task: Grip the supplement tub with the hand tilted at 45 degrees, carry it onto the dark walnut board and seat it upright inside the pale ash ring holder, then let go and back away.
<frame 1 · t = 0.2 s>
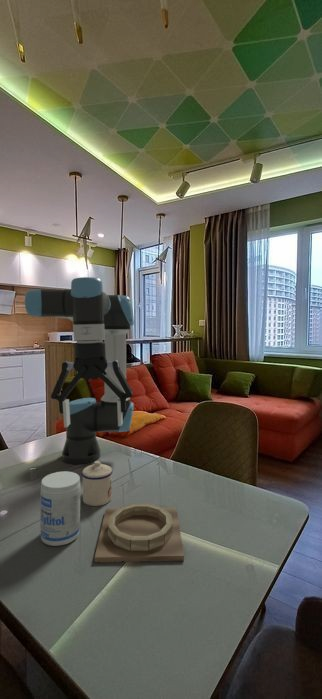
hand: (93, 425, 85), 28 cm above the table, tool pointing down, fingers open, 13 cm apart
supplement tub: (61, 536, 84), on the table
teacup with lid: (96, 497, 103), on the table
ring holder: (140, 534, 85), on the table
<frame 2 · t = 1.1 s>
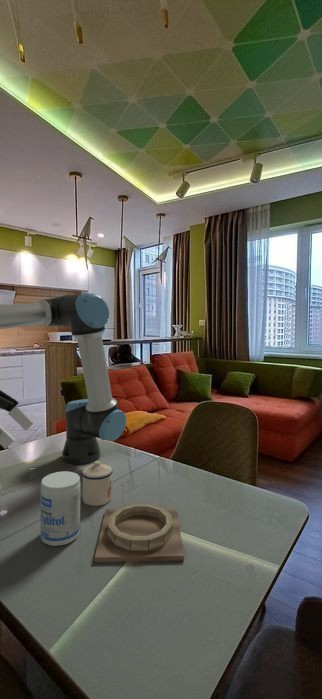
hand: (21, 435, 82), 26 cm above the table, tool tilted 45°, fingers open, 13 cm apart
nothing on the table moved.
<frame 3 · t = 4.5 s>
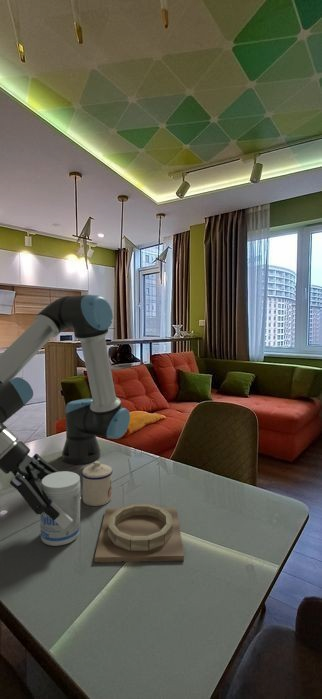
hand: (73, 512, 84), 6 cm above the table, tool tilted 45°, fingers closed on supplement tub, 9 cm apart
supplement tub: (61, 536, 84), on the table, touching gripper
everything else where it was.
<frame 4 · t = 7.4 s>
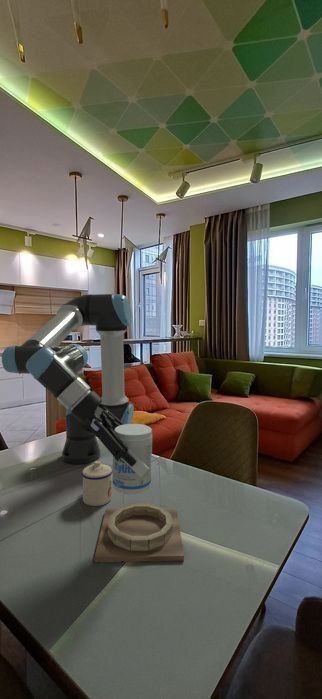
hand: (145, 463, 83), 19 cm above the table, tool tilted 45°, fingers closed on supplement tub, 9 cm apart
supplement tub: (132, 487, 83), point 13 cm above the table, touching gripper
everything else where it was.
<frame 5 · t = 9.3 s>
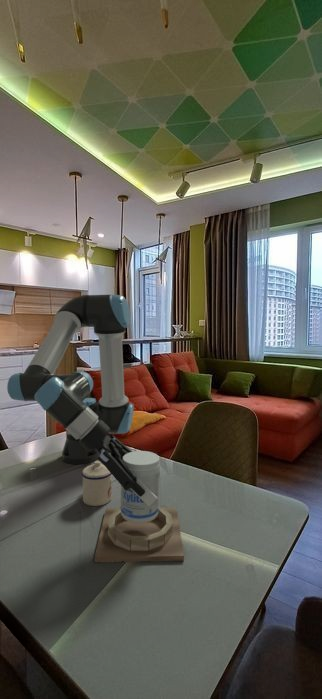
hand: (152, 491, 84), 11 cm above the table, tool tilted 45°, fingers closed on supplement tub, 9 cm apart
supplement tub: (140, 514, 84), point 5 cm above the table, touching gripper
everything else where it was.
when the fingers open (8 cm above the table, at t = 10.6 s): supplement tub drops 1 cm, resting on ring holder.
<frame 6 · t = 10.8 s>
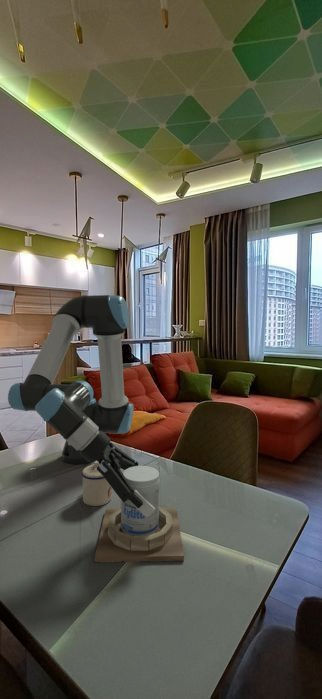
hand: (150, 499, 84), 9 cm above the table, tool tilted 45°, fingers open, 12 cm apart
supplement tub: (140, 529, 85), point 1 cm above the table, touching ring holder
everything else where it was.
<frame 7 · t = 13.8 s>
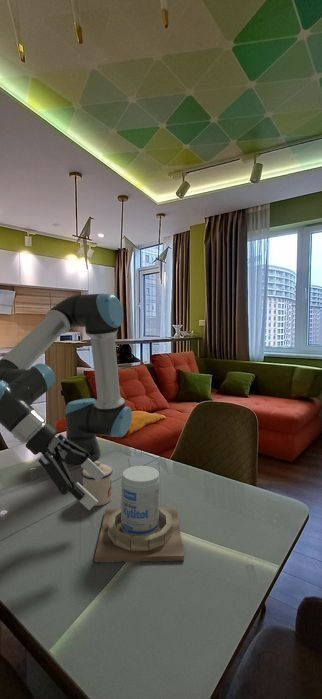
hand: (98, 490, 84), 11 cm above the table, tool tilted 45°, fingers open, 13 cm apart
nothing on the table moved.
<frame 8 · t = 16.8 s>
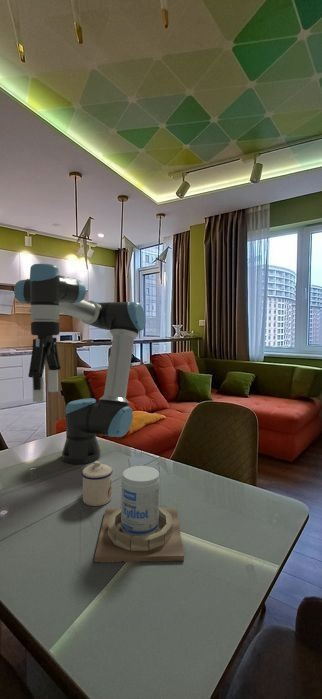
hand: (46, 396, 95), 33 cm above the table, tool pointing down, fingers open, 13 cm apart
nothing on the table moved.
at the end: supplement tub 0.2 cm off-centre on the ring holder, point 1.0 cm above the ring holder's base; supplement tub tilted 0°; the gripper is holding nothing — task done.
